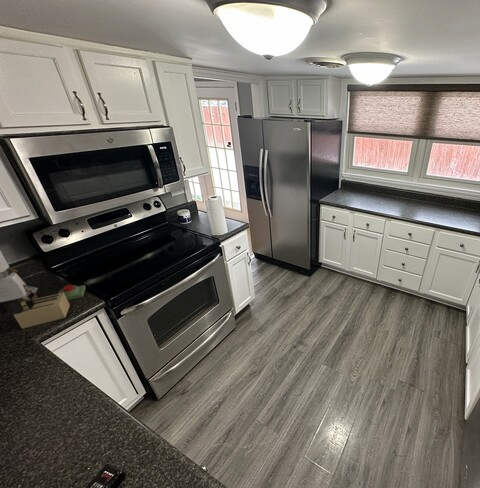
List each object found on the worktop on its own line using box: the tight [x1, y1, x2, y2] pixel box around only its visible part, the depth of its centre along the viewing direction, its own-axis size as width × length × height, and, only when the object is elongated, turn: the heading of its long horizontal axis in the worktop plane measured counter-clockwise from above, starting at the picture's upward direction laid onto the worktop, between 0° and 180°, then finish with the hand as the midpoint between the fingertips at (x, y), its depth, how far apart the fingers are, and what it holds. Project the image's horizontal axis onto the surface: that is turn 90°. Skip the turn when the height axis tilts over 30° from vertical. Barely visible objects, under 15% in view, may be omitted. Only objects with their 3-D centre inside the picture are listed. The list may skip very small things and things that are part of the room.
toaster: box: [13, 293, 71, 330], centre depth 118 cm, size 14×10×8 cm
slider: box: [9, 299, 24, 314], centre depth 109 cm, size 2×3×5 cm, turn 32°
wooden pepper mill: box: [10, 268, 39, 303], centre depth 125 cm, size 7×6×18 cm
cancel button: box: [62, 284, 74, 292], centre depth 132 cm, size 4×4×2 cm
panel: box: [57, 284, 87, 301], centre depth 133 cm, size 10×9×4 cm
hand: (18, 309), depth 110 cm, fingers open, 7 cm apart
